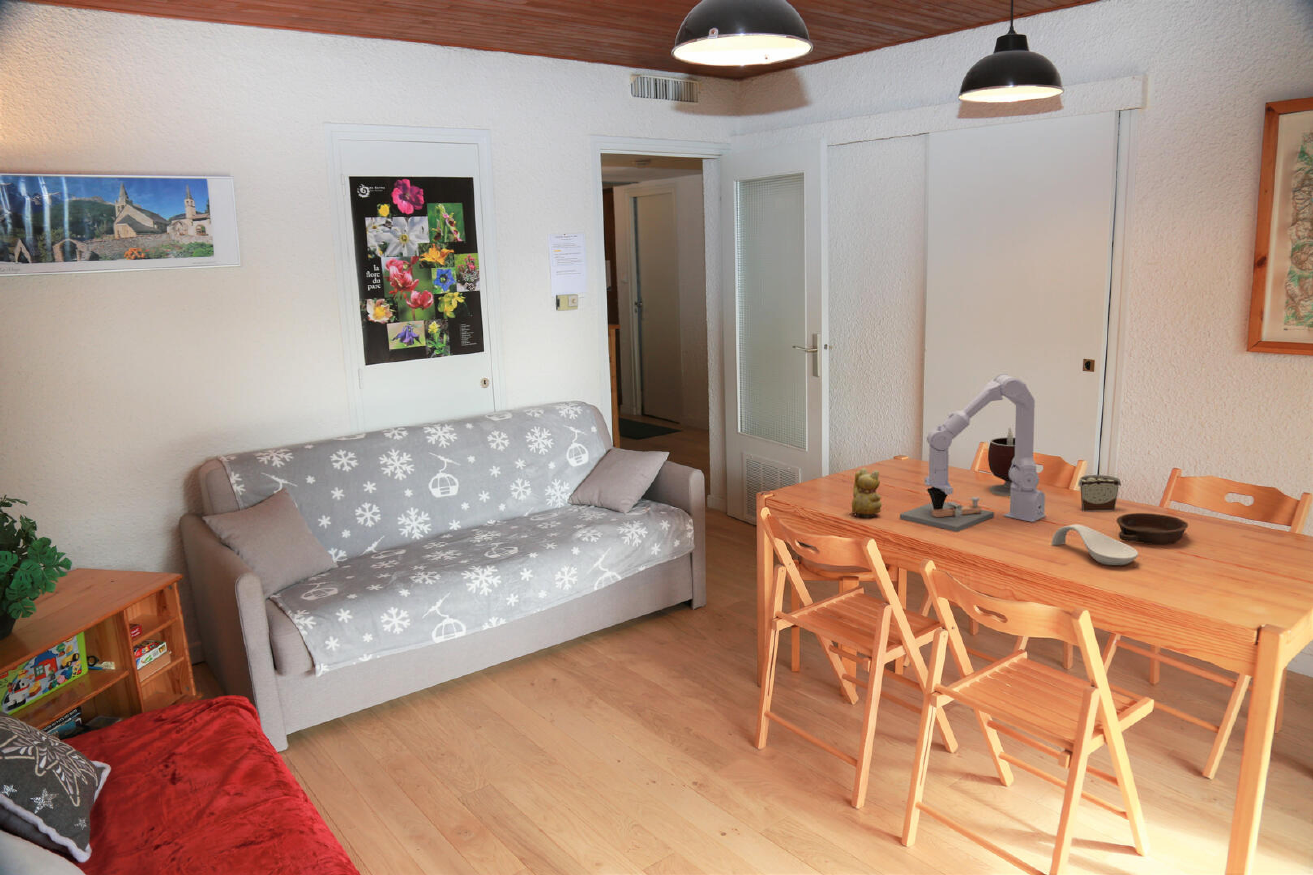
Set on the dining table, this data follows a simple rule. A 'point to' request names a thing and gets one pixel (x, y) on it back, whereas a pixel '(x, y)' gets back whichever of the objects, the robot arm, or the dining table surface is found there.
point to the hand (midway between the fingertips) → (938, 511)
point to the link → (965, 509)
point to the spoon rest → (1099, 545)
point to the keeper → (956, 509)
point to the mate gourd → (1001, 462)
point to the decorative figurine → (866, 493)
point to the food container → (1099, 492)
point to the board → (945, 518)
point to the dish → (1151, 528)
